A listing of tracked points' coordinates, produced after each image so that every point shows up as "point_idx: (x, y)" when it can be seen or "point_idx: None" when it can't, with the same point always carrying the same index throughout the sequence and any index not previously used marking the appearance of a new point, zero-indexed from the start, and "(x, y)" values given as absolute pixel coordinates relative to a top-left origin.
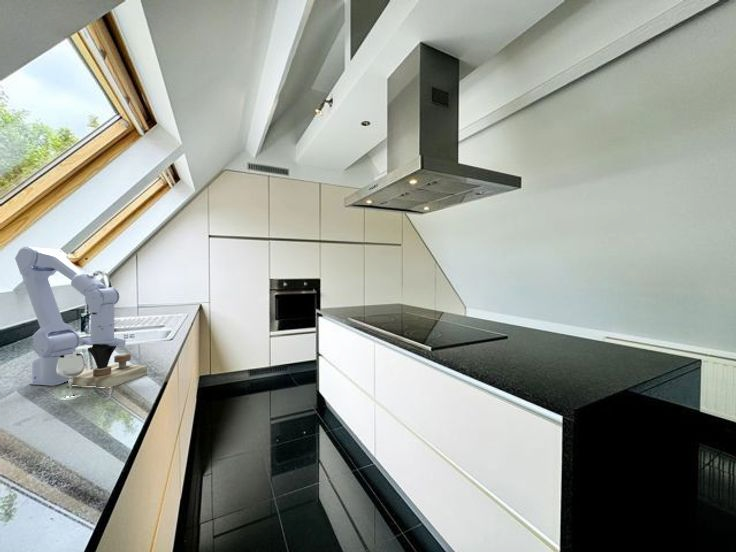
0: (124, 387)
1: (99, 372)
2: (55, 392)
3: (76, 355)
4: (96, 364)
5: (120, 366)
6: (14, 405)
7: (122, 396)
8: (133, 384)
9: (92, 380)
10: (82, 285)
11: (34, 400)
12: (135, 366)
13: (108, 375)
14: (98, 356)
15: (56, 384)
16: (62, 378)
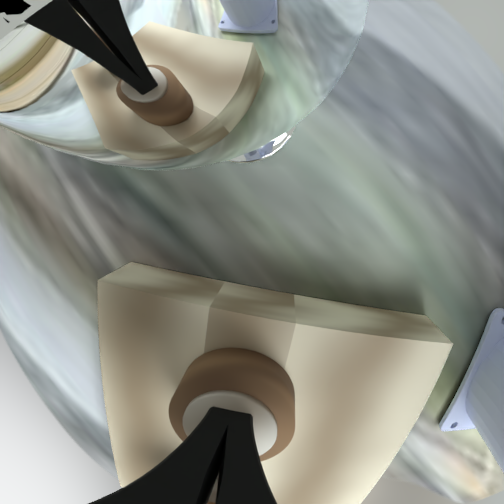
0: (70, 280)
1: (207, 367)
2: (423, 207)
3: (94, 65)
4: (247, 435)
5: (215, 487)
6: (447, 34)
7: (9, 159)
8: (66, 323)
9: (241, 305)
10: None
11: (423, 83)
12: None
13: (165, 364)
14: (179, 491)
15: (490, 321)
16: (492, 367)
